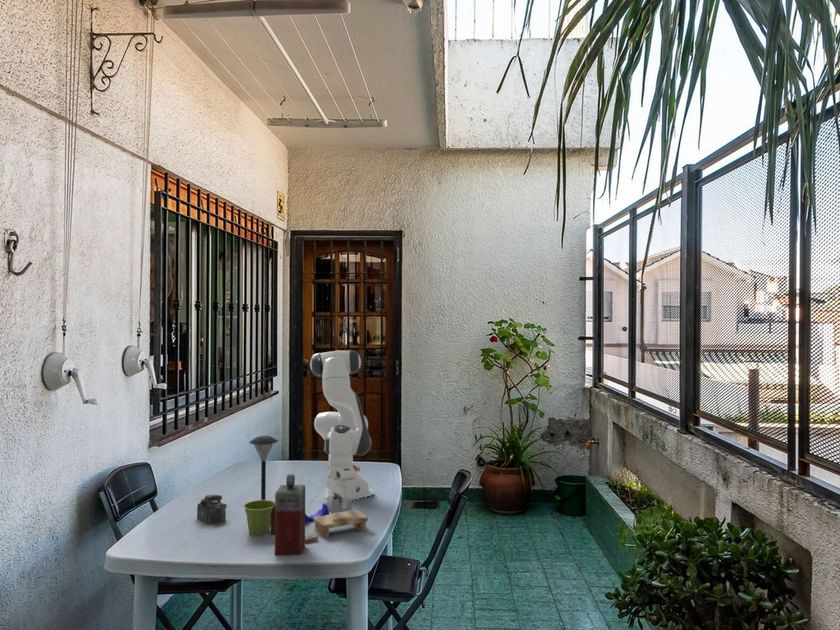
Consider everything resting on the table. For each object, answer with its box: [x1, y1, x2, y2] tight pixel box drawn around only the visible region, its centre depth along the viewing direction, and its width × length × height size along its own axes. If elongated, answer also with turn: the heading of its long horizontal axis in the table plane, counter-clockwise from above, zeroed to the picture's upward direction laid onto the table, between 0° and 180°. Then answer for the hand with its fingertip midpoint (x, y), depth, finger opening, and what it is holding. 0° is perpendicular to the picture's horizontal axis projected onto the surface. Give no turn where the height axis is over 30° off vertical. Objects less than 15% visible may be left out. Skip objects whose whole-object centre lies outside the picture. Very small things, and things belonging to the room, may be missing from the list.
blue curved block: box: [305, 502, 330, 523], centre depth 236 cm, size 12×4×6 cm, turn 123°
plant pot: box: [243, 499, 275, 536], centre depth 220 cm, size 12×12×11 cm
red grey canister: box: [270, 473, 306, 556], centre depth 201 cm, size 9×11×28 cm
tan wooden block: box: [305, 533, 319, 544], centre depth 210 cm, size 5×3×3 cm, turn 126°
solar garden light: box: [248, 435, 279, 500], centre depth 252 cm, size 12×12×30 cm
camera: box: [196, 494, 228, 524], centre depth 235 cm, size 13×10×10 cm
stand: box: [312, 509, 368, 539], centre depth 222 cm, size 18×10×6 cm, turn 121°
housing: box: [326, 494, 353, 514], centre depth 222 cm, size 5×8×6 cm, turn 118°
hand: (340, 505), depth 222 cm, fingers closed on housing, 5 cm apart
